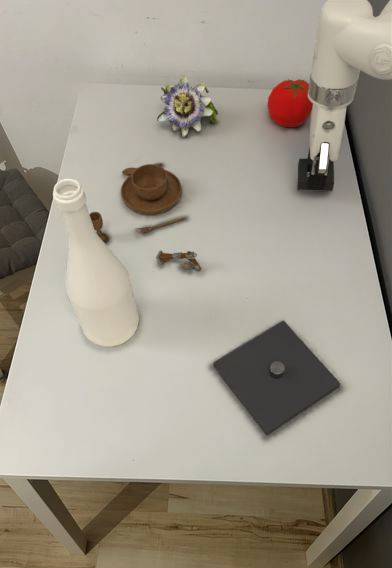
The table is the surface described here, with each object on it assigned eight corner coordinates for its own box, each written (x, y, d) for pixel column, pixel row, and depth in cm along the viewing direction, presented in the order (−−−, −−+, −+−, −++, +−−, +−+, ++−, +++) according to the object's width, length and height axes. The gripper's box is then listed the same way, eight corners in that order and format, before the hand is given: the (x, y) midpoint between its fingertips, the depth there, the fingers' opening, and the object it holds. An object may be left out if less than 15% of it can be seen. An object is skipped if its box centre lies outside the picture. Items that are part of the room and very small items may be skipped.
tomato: (257, 123, 109) (261, 87, 102) (284, 100, 113) (290, 63, 106) (293, 140, 106) (299, 104, 99) (319, 116, 110) (327, 79, 103)
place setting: (196, 217, 96) (195, 194, 91) (96, 249, 93) (89, 226, 88) (165, 160, 104) (163, 136, 99) (72, 187, 101) (65, 163, 96)
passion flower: (186, 155, 113) (152, 125, 103) (180, 117, 116) (147, 85, 107) (228, 130, 107) (196, 96, 97) (221, 90, 110) (189, 54, 101)
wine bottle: (77, 311, 86) (19, 172, 60) (130, 295, 87) (95, 151, 61) (91, 356, 81) (34, 227, 55) (146, 338, 83) (117, 203, 57)
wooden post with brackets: (203, 273, 88) (192, 255, 85) (166, 273, 92) (155, 256, 89) (206, 265, 89) (196, 247, 86) (170, 266, 93) (159, 249, 90)
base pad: (282, 324, 83) (284, 314, 81) (338, 387, 78) (343, 378, 75) (213, 366, 80) (213, 356, 77) (266, 435, 74) (268, 428, 71)
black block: (331, 167, 98) (333, 159, 96) (332, 191, 95) (334, 183, 93) (297, 166, 99) (299, 158, 97) (297, 190, 96) (298, 181, 94)
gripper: (358, 121, 76) (336, 208, 92) (353, 56, 85) (334, 146, 100) (308, 119, 77) (294, 206, 92) (309, 55, 85) (296, 145, 101)
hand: (315, 174), depth 96 cm, fingers closed on black block, 6 cm apart
